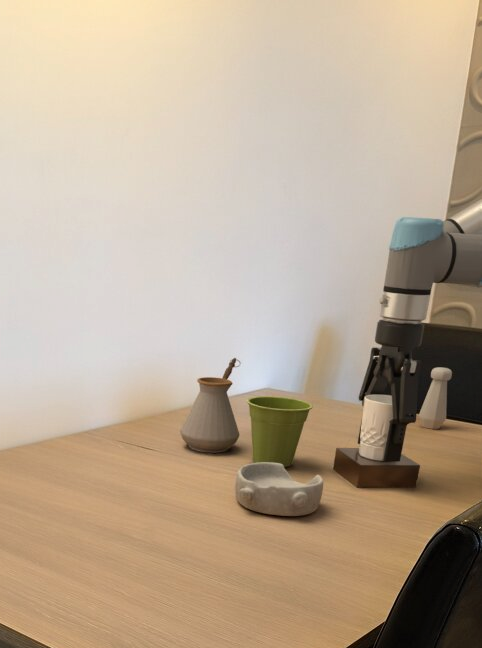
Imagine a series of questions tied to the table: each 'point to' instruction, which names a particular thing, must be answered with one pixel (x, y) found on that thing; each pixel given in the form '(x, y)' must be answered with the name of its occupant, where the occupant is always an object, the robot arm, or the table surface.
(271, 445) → the plant pot
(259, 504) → the dish
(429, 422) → the salt shaker
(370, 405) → the white cup
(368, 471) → the riser
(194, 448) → the coffee pot
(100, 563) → the table surface
